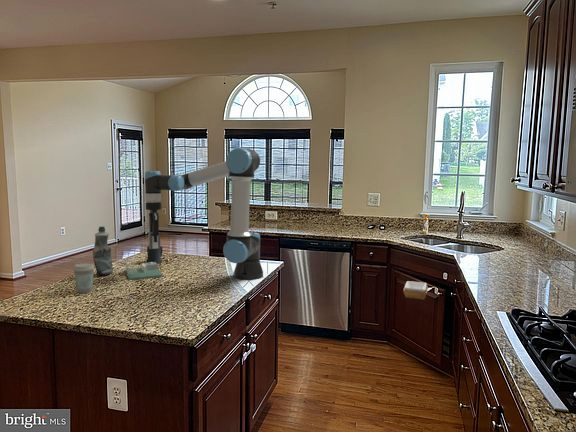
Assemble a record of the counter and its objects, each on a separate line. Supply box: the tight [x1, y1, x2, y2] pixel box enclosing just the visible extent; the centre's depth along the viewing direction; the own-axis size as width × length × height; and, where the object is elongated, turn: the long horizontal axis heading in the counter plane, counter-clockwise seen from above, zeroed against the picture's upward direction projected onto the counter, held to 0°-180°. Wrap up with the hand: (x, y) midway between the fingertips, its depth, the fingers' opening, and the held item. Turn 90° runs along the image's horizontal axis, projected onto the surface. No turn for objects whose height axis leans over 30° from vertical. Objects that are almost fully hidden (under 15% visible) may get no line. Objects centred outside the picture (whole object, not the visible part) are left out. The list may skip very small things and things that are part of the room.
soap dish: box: [402, 280, 428, 301], centre depth 188 cm, size 12×10×5 cm
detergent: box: [92, 225, 114, 276], centre depth 214 cm, size 13×7×25 cm, turn 164°
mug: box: [145, 244, 163, 265], centre depth 246 cm, size 12×9×11 cm
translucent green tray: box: [124, 262, 164, 281], centre depth 218 cm, size 20×16×6 cm
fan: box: [143, 262, 159, 270], centre depth 227 cm, size 6×6×3 cm
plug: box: [147, 231, 161, 249], centre depth 215 cm, size 4×5×8 cm
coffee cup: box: [72, 262, 96, 294], centre depth 186 cm, size 8×8×12 cm
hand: (154, 247), depth 215 cm, fingers closed on plug, 4 cm apart
